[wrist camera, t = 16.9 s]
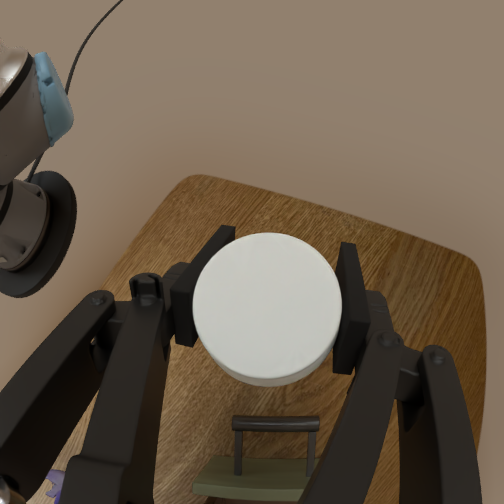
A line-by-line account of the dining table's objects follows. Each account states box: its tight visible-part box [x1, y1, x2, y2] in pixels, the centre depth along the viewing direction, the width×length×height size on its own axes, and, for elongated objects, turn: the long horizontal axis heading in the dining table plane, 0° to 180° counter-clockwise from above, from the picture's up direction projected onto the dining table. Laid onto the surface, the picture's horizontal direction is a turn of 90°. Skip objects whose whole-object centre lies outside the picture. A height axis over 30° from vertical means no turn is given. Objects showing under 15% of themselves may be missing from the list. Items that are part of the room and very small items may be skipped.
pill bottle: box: [193, 233, 342, 387], centre depth 14 cm, size 6×6×10 cm
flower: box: [46, 469, 65, 504], centre depth 22 cm, size 9×9×10 cm
